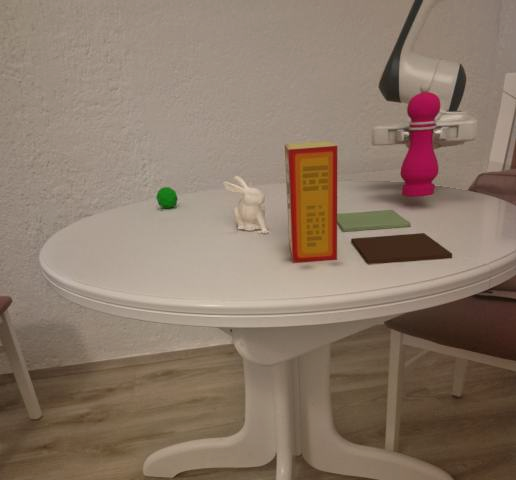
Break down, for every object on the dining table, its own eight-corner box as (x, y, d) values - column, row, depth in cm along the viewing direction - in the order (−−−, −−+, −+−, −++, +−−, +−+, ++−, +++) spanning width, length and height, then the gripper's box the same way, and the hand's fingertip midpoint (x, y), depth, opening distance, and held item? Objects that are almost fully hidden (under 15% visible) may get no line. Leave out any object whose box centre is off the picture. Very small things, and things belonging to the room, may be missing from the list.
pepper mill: (441, 191, 99) (451, 80, 90) (430, 198, 94) (439, 81, 85) (406, 190, 103) (412, 84, 94) (394, 196, 98) (399, 85, 88)
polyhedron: (171, 210, 114) (167, 189, 111) (154, 210, 116) (150, 189, 114) (182, 206, 118) (179, 185, 115) (166, 205, 120) (163, 185, 117)
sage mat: (392, 212, 96) (392, 209, 96) (410, 226, 85) (410, 223, 85) (332, 217, 96) (332, 214, 96) (343, 231, 85) (343, 228, 85)
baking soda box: (289, 245, 80) (284, 141, 73) (328, 242, 80) (327, 138, 72) (293, 262, 71) (288, 146, 64) (337, 259, 71) (337, 143, 64)
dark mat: (423, 236, 79) (424, 232, 79) (452, 257, 68) (452, 253, 68) (351, 242, 79) (351, 238, 79) (367, 264, 68) (368, 260, 68)
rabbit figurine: (270, 234, 87) (267, 178, 83) (228, 237, 87) (223, 182, 83) (263, 220, 98) (260, 170, 94) (226, 223, 98) (222, 173, 93)
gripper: (374, 117, 106) (367, 121, 94) (475, 110, 100) (481, 113, 88) (373, 148, 109) (366, 155, 97) (471, 143, 102) (476, 150, 91)
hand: (421, 135), depth 92 cm, fingers closed on pepper mill, 5 cm apart
